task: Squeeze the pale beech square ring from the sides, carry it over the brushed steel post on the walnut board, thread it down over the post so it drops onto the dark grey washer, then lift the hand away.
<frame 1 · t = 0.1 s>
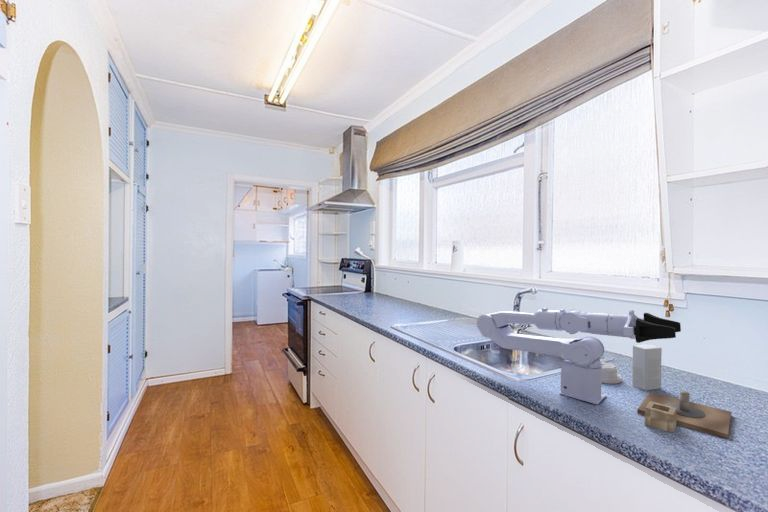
hand: (677, 329, 83), 22 cm above the worktop, tool horizontal, fingers open, 7 cm apart
post board: (683, 414, 87), on the worktop
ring: (660, 424, 82), on the worktop
skincare box: (646, 387, 104), on the worktop
mechanical component: (602, 379, 111), on the worktop
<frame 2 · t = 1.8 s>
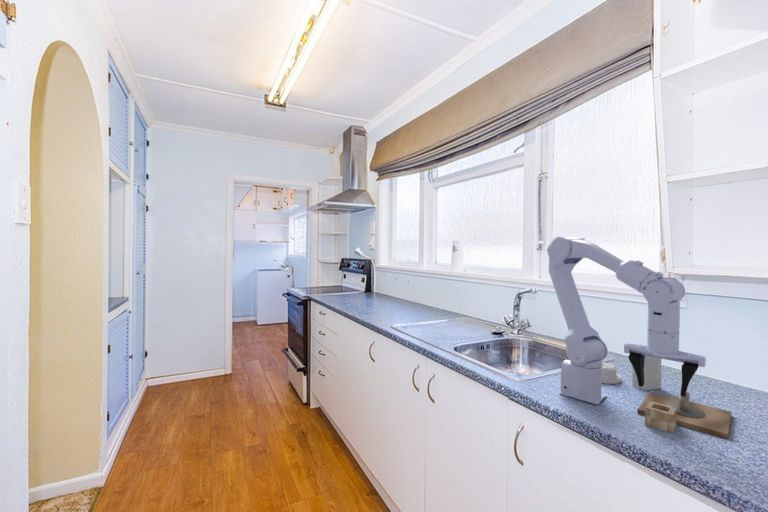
hand: (661, 390, 82), 8 cm above the worktop, tool pointing down, fingers open, 7 cm apart
nothing on the worktop moved.
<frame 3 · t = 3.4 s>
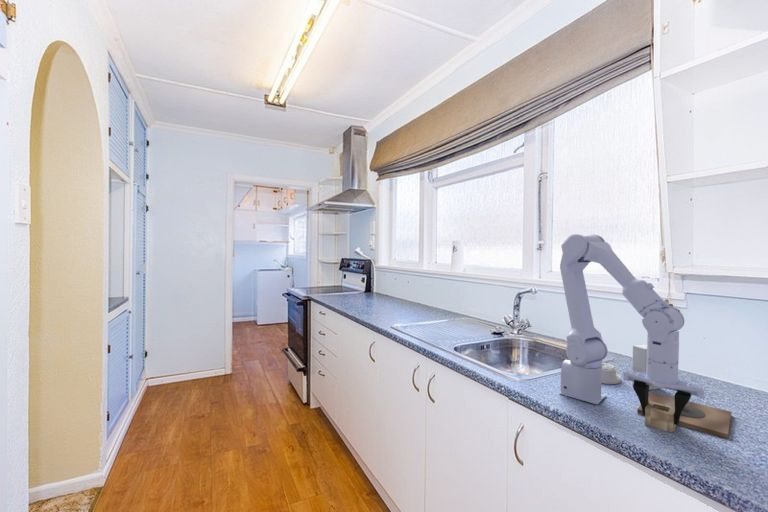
hand: (660, 418, 82), 1 cm above the worktop, tool pointing down, fingers closed on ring, 5 cm apart
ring: (660, 424, 82), on the worktop, touching gripper
everything else where it was.
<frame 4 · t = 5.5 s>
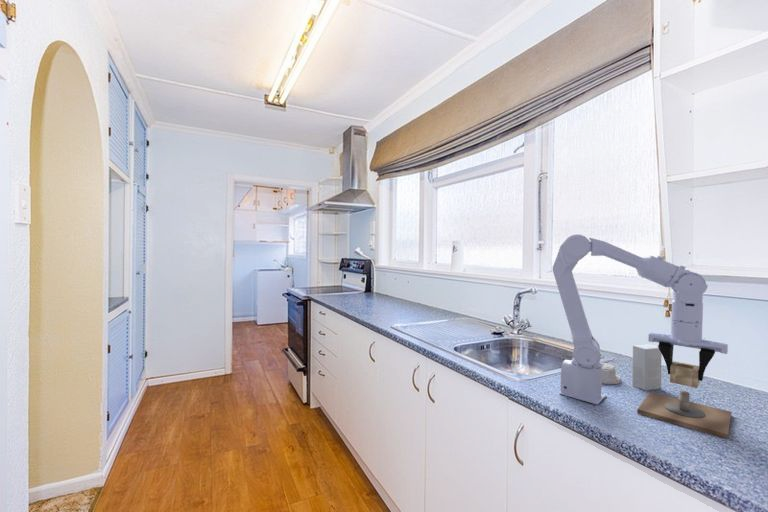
hand: (685, 376, 87), 9 cm above the worktop, tool pointing down, fingers closed on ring, 5 cm apart
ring: (684, 382, 87), point 8 cm above the worktop, touching gripper
everything else where it was.
when the fingers open (4 cm above the worktop, at t = 8.0 s): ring drops 1 cm, resting on post board.
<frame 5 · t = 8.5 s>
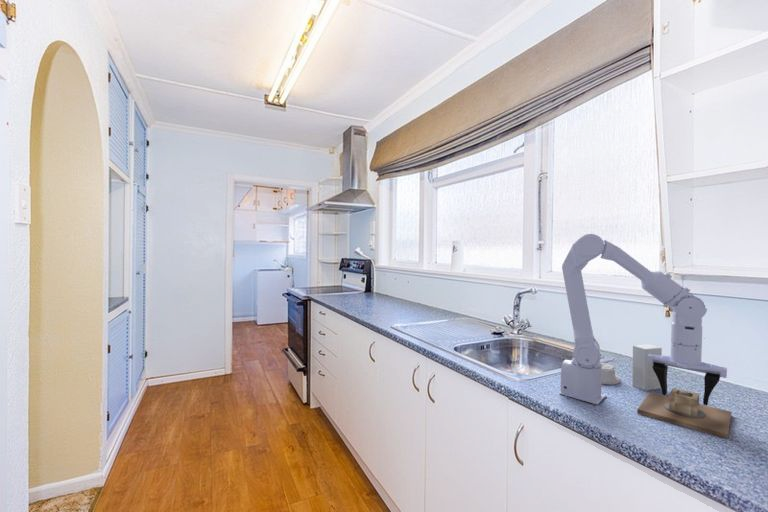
hand: (684, 398, 87), 4 cm above the worktop, tool pointing down, fingers open, 7 cm apart
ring: (683, 409, 87), point 1 cm above the worktop, touching post board
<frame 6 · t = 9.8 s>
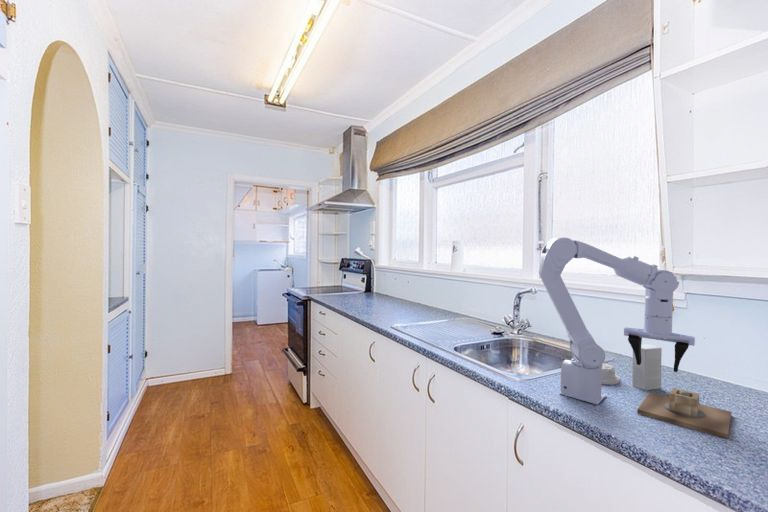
hand: (656, 367, 93), 9 cm above the worktop, tool pointing down, fingers open, 7 cm apart
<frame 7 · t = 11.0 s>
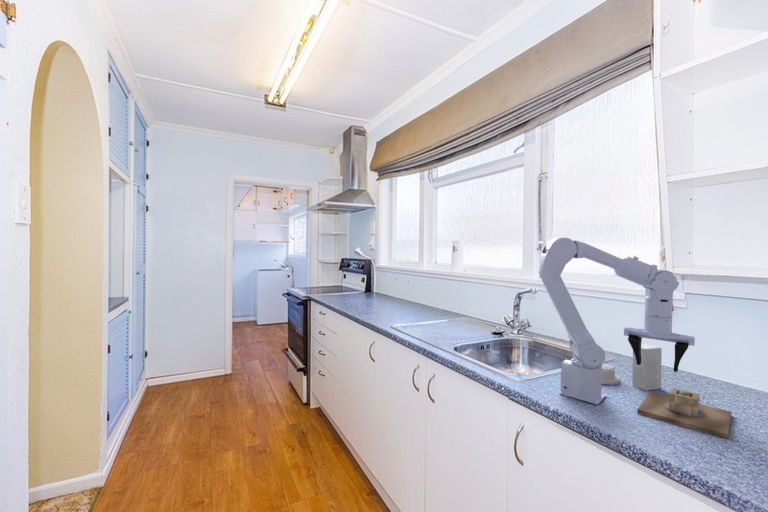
hand: (656, 367, 93), 9 cm above the worktop, tool pointing down, fingers open, 7 cm apart
at the end: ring 0.1 cm off-centre on the post board, point 1.2 cm above the post board's base; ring tilted 0°; the gripper is holding nothing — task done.
